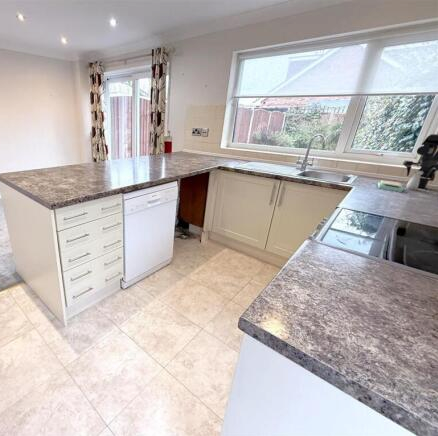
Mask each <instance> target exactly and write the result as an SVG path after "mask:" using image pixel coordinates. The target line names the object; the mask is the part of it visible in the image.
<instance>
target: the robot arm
mask: <svg viewBox="0 0 438 436" xmlns="http://www.w3.org/2000/svg"><path fill="white" fill-rule="evenodd" d="M421 145H422V146H420V147H418V148H417V149H416V153H417V155H419V156H420V157H419V159H418V161H417V162H414V161H413V160H404V161H403V162H402V165H403V166H404V167H405V168H406V177H409V176H410V172H411V169H412V166H417V167H420V168H419V169H417V171H423V174H422V175H421V176H420V181H419V185H418V188H417V189H423V190H427V189H428V188H427V185H428V184H429V182H434V180H435V178H436V172H437V171H438V133H431V134H429V135H428V136H427V137H426V138H425V139H424V141H423V142H422V143H421Z"/></svg>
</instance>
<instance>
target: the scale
mask: <svg viewBox="0 0 438 436" xmlns="http://www.w3.org/2000/svg"><path fill="white" fill-rule="evenodd" d="M401 186H402V184H401ZM377 187H378V189H381V190H388V191H391V192H399V193H403V192H404V187H403V186H402V187H399V186H393V185H387V184H385V185H384V184H382V183H381V180H380V181H379V180H378V182H377Z"/></svg>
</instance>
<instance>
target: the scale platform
mask: <svg viewBox="0 0 438 436" xmlns="http://www.w3.org/2000/svg"><path fill="white" fill-rule="evenodd" d="M380 182H381V183H382V184H384V185H385V184H387V185H393V186H399V187H403V186H401V185H402V184H401V182H398V181H397V182H396V181H390V180H383V179H381V180H380Z"/></svg>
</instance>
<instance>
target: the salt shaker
mask: <svg viewBox="0 0 438 436" xmlns="http://www.w3.org/2000/svg"><path fill="white" fill-rule="evenodd" d="M422 174H423V171H418V170H415V171H414V172H413V176H412V177H411V178H410V179H409V181H408V182H407V184H406V185H405V186H406V190H411V191H415V190H416V189H419V188H418V185H419V181H420V176H421V175H422Z"/></svg>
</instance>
